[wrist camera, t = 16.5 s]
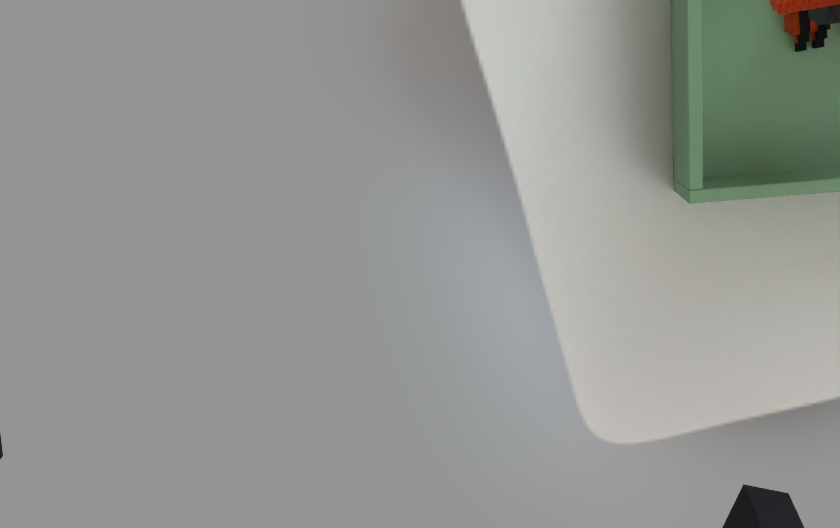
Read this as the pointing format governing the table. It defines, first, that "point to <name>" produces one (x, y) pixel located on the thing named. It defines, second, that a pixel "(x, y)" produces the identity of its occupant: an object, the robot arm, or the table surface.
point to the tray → (751, 104)
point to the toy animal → (808, 19)
